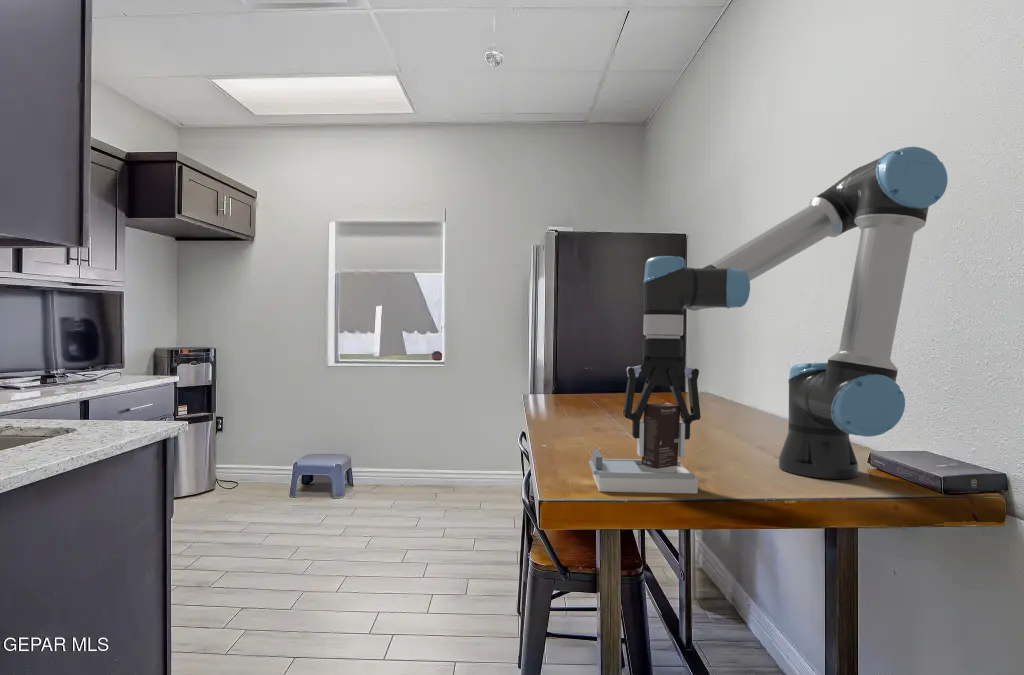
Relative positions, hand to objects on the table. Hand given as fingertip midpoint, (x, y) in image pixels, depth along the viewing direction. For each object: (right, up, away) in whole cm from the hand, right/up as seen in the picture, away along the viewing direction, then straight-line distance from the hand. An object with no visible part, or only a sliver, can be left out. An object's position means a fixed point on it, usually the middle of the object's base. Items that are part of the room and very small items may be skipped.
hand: (660, 455), depth 114 cm
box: (0, -2, 0) cm, 2 cm away
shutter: (-9, -3, 0) cm, 9 cm away
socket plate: (-4, -6, 0) cm, 7 cm away
